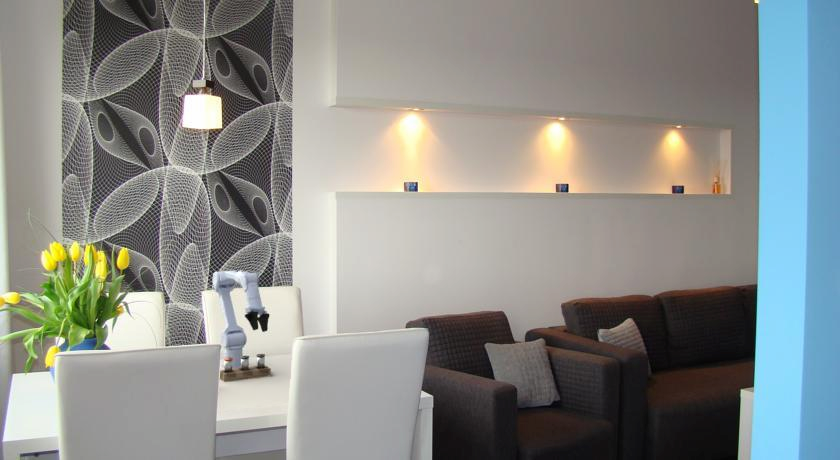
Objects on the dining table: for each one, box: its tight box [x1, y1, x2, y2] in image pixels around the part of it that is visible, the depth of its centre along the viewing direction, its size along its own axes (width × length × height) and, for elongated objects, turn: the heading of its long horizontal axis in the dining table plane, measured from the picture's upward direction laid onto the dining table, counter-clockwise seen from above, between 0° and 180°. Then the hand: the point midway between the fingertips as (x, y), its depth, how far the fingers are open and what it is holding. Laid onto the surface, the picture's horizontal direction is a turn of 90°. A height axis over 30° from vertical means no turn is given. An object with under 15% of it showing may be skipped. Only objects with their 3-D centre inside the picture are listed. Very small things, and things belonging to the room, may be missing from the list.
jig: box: [219, 365, 272, 382], centre depth 309 cm, size 8×20×3 cm, turn 121°
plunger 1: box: [240, 355, 250, 370], centre depth 309 cm, size 4×4×6 cm
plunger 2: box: [256, 353, 266, 369], centre depth 313 cm, size 4×4×6 cm
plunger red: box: [223, 357, 233, 372], centre depth 306 cm, size 4×4×6 cm
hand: (260, 330), depth 305 cm, fingers open, 7 cm apart
